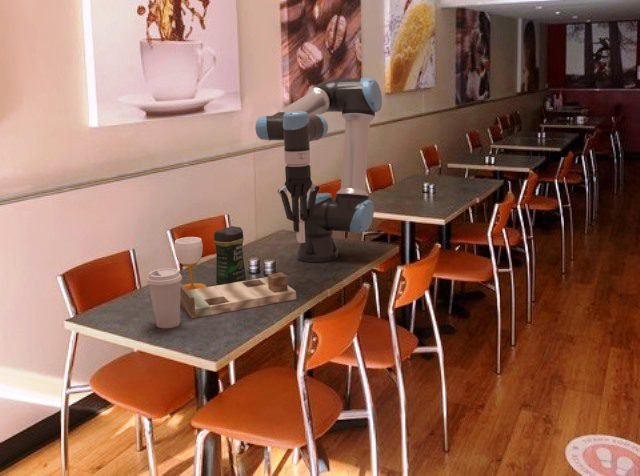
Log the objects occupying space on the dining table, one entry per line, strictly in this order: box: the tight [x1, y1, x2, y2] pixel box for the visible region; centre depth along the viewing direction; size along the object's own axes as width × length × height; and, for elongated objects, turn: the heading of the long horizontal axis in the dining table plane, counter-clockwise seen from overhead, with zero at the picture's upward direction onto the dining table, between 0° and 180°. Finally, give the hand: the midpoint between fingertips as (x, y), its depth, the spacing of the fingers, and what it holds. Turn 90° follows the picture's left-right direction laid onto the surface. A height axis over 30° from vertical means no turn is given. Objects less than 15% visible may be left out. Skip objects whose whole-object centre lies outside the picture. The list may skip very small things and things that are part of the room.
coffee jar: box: [213, 225, 247, 285], centre depth 221 cm, size 10×8×19 cm
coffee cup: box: [146, 267, 183, 329], centre depth 187 cm, size 10×10×15 cm
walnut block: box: [267, 271, 289, 293], centre depth 207 cm, size 4×4×4 cm
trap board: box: [180, 276, 297, 319], centre depth 206 cm, size 32×18×6 cm, turn 115°
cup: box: [174, 236, 207, 290], centre depth 217 cm, size 9×9×16 cm
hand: (300, 241), depth 207 cm, fingers closed
